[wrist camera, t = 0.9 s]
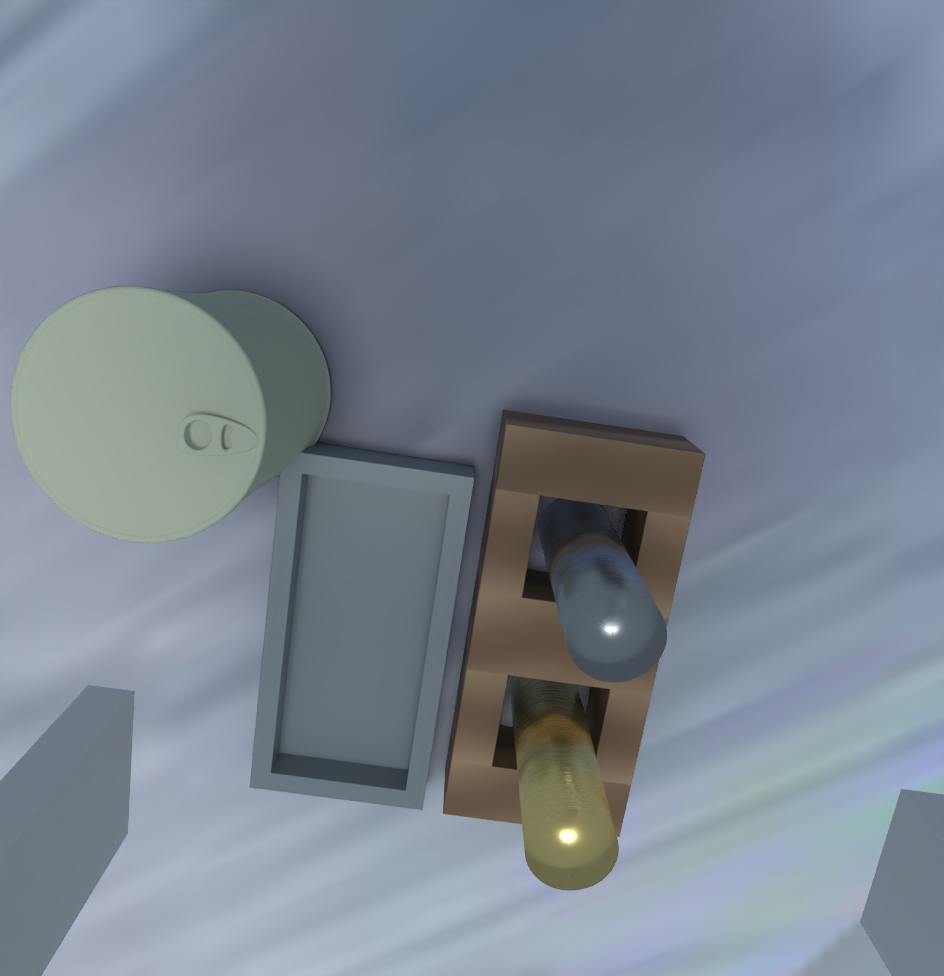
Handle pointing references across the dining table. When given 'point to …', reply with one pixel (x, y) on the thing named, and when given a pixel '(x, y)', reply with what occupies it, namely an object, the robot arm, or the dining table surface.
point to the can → (165, 406)
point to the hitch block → (531, 603)
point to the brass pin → (560, 787)
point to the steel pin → (599, 594)
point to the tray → (358, 623)
